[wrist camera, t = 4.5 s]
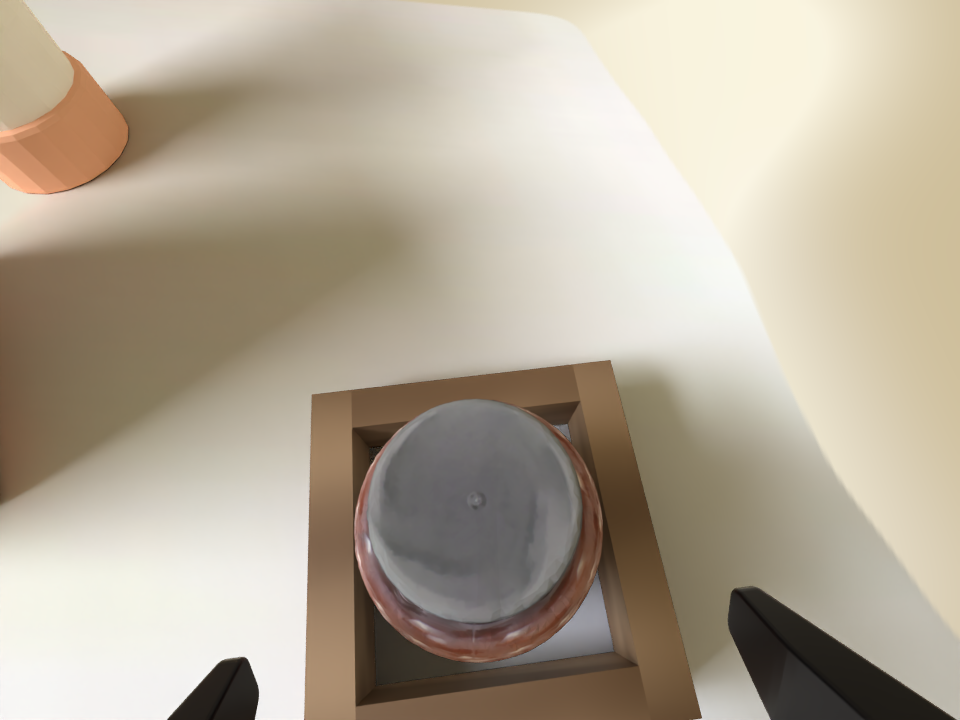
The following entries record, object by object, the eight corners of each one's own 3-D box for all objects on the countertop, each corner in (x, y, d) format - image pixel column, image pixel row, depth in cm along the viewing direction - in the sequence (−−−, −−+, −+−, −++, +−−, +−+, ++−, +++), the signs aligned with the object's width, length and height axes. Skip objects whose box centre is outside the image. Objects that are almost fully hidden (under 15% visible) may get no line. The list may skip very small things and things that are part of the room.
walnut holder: (666, 695, 17) (702, 718, 14) (333, 744, 16) (302, 777, 14) (594, 387, 22) (610, 360, 19) (334, 418, 21) (312, 394, 18)
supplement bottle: (541, 456, 20) (601, 333, 10) (572, 613, 18) (693, 665, 8) (400, 476, 20) (313, 370, 10) (412, 639, 18) (311, 729, 7)
